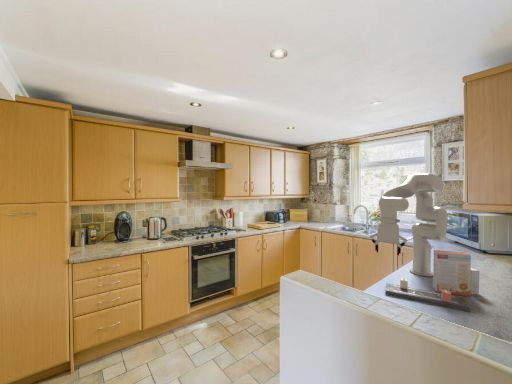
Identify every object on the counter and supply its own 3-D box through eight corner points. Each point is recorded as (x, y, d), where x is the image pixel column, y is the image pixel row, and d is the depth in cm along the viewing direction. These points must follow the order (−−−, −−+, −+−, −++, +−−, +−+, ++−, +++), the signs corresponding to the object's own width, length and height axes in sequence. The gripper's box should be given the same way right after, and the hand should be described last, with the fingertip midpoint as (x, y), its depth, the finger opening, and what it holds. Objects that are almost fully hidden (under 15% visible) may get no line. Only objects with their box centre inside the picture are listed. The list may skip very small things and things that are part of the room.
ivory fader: (400, 285, 125) (400, 277, 125) (407, 286, 123) (407, 278, 123) (400, 287, 121) (400, 279, 121) (407, 289, 120) (407, 281, 120)
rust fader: (440, 297, 111) (441, 288, 111) (449, 299, 109) (449, 290, 109) (442, 301, 107) (442, 292, 107) (451, 302, 106) (451, 293, 106)
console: (386, 286, 128) (386, 282, 128) (463, 301, 112) (463, 297, 112) (385, 294, 118) (385, 290, 118) (470, 311, 102) (470, 306, 102)
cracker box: (464, 292, 123) (465, 251, 123) (470, 297, 117) (471, 254, 117) (432, 288, 127) (433, 249, 127) (436, 292, 122) (437, 251, 121)
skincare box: (460, 288, 127) (461, 266, 127) (469, 289, 127) (469, 266, 127) (470, 293, 121) (471, 270, 121) (479, 294, 121) (480, 270, 121)
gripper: (407, 221, 125) (406, 254, 125) (370, 219, 133) (369, 249, 133) (408, 223, 118) (407, 257, 118) (369, 220, 126) (368, 252, 127)
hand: (387, 253), depth 126 cm, fingers open, 9 cm apart
